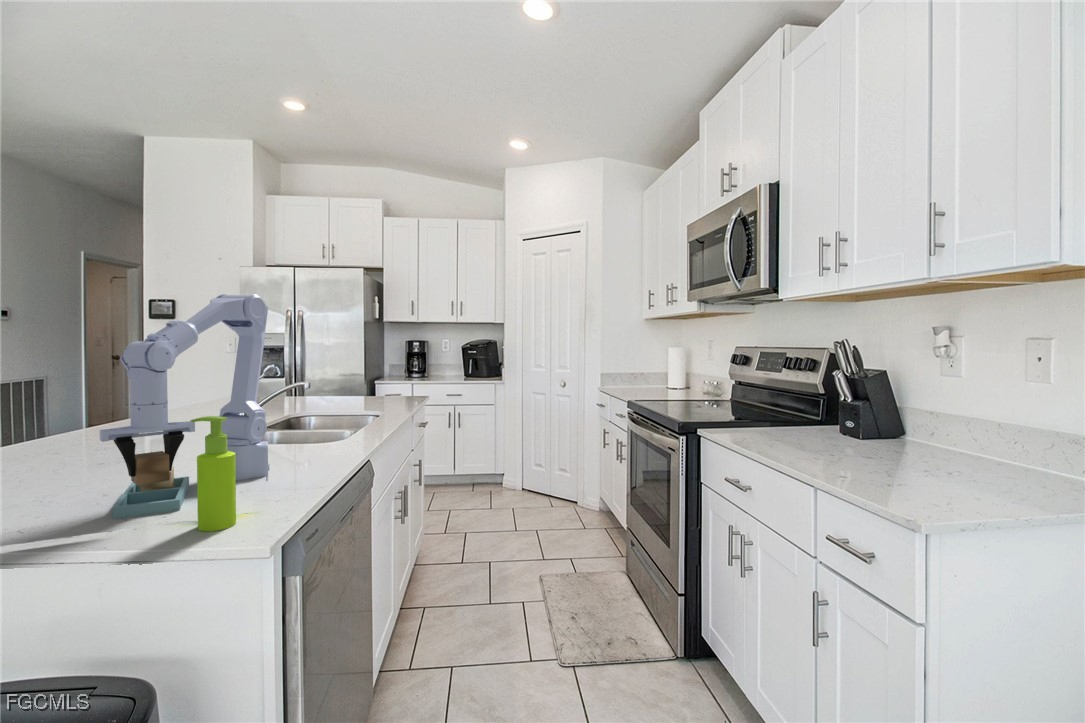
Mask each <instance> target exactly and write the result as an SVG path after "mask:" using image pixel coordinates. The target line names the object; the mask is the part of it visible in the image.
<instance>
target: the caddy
mask: <svg viewBox="0 0 1085 723" xmlns="http://www.w3.org/2000/svg"><path fill="white" fill-rule="evenodd" d="M189 487H190V476H181V477H174V488H169V489H160V490H150V491H141V485H138V486H137V485H136V484H135V483H134V482H133V481H132V482H131V483H130V484H129V485H128V487H127V488H126V489H125V491H124V492H123V493H122V495H121V496H120V497H119V498H118V500H117V501H116V503H115V504H114V505H113V506H112V508H111V510H112V514H111V515H112V519H113V520H115V519H122V518H130V517H138V516H145V515H155V514H161V513H167V512H168V513H170V512H177V511H180V510H181V508H182V505H183V503H184V500H185V497H186V496H187V492H188V491H189Z"/></svg>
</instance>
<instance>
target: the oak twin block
mask: <svg viewBox="0 0 1085 723" xmlns="http://www.w3.org/2000/svg"><path fill="white" fill-rule="evenodd" d="M169 475H170V480H168V481H162V482H156V483H150V484H144V485H141V491H150V490H160V489H169V488H174V478H175V467H174V466H172V470H171V471H169Z"/></svg>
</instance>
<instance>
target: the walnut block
mask: <svg viewBox="0 0 1085 723" xmlns="http://www.w3.org/2000/svg"><path fill="white" fill-rule="evenodd" d="M135 468H136V475H135V476H134V477H130V478H131V481H132V482H134V483H135V484H136V485H137V486H138V485H144V484H150V483H156V482H162V481H168V480H170V475H169V454H167V453H165V451H163V450H158V451H151V452H143V453H135Z"/></svg>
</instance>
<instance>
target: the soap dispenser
mask: <svg viewBox="0 0 1085 723" xmlns="http://www.w3.org/2000/svg"><path fill="white" fill-rule="evenodd" d="M226 420H227V417H219V416H218V415H216V416H215V415H208V416H206V415H205V416H202V417H201V416H200V417H197V418H194V419H190V420H189V421H191V422H195V423H197V422H198V423H199V422H210V423H209V424H210V433H208V434H207V435H205V436H204V441H205V442H204V448H205V449H204V453H201V454H198V455H197V456H196V478H197V479H196V488H197V490H196V491H197V492H196V493H197V494H196V495H197V499H196V500H197V529H198V531H201V532H217V531H223V530H227V529H229V528H231V527H234V526H235V525H236V523H237V498H236V497H237V492H236V491H237V490H236V489H237V488H236V487H237V486H236V485H237V484H236V481H237V480H236V465H235V452H231V451H227V434H224V433H222V422H223V421H226Z"/></svg>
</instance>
